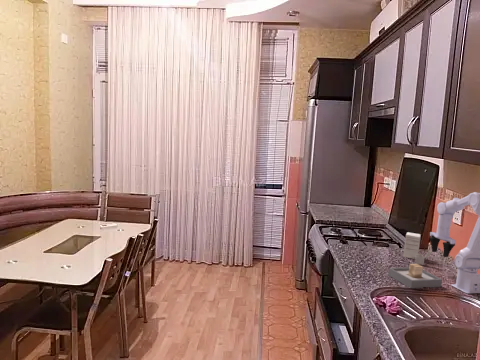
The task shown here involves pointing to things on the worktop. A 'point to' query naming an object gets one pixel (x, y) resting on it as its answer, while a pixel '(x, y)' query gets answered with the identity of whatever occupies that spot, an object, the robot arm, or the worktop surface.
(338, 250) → the worktop surface
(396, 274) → the hole box
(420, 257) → the translucent grey slab
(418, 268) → the peg
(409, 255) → the supplement box
